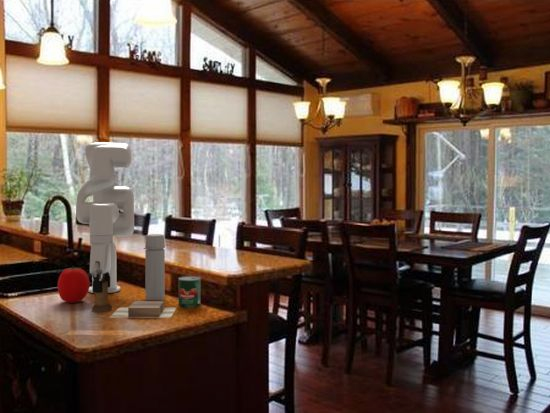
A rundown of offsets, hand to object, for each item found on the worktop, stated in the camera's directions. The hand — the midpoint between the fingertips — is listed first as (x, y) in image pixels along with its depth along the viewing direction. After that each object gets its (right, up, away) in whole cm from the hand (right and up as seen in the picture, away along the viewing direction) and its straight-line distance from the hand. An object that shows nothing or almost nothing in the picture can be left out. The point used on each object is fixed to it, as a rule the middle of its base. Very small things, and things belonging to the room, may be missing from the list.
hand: (101, 289), depth 192 cm
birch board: (+15, -9, -2) cm, 17 cm away
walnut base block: (+16, -8, -3) cm, 18 cm away
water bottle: (+13, -7, +21) cm, 26 cm away
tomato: (-16, -7, +17) cm, 25 cm away
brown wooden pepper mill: (0, -9, +1) cm, 9 cm away
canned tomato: (+29, -8, +10) cm, 31 cm away
